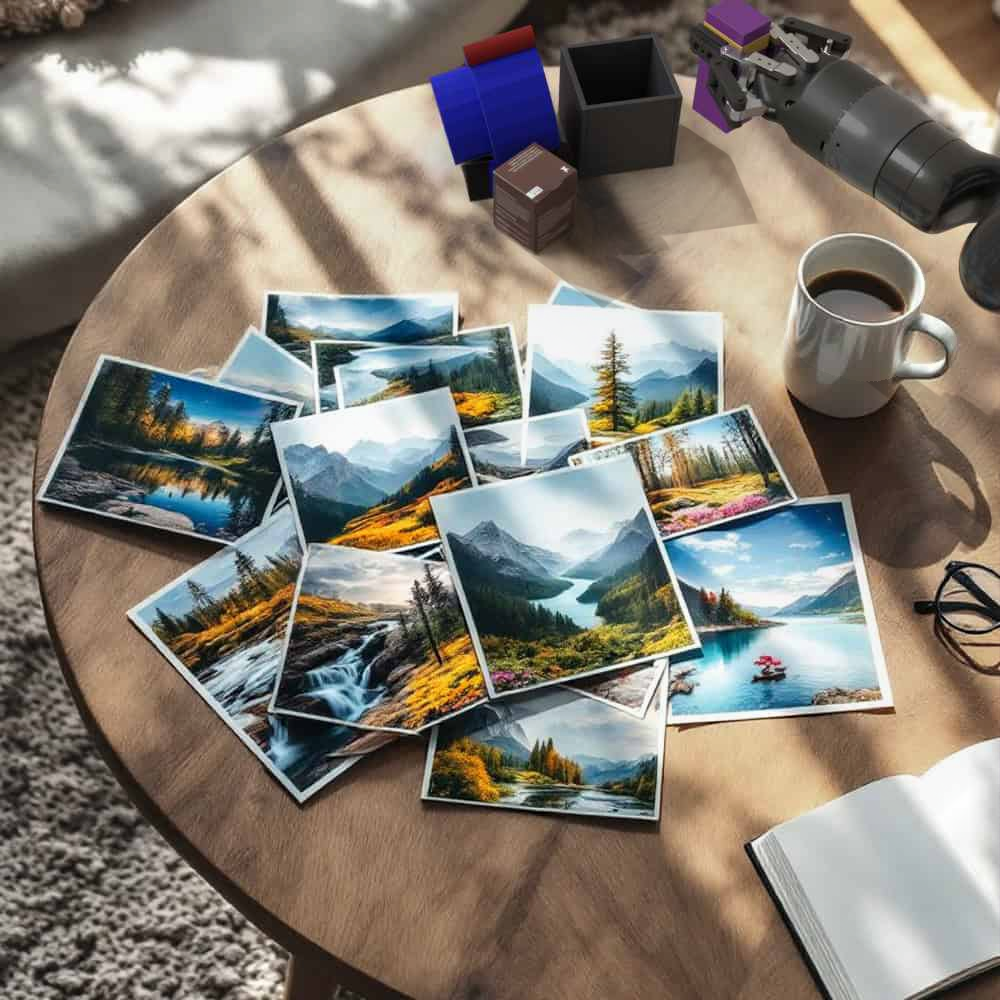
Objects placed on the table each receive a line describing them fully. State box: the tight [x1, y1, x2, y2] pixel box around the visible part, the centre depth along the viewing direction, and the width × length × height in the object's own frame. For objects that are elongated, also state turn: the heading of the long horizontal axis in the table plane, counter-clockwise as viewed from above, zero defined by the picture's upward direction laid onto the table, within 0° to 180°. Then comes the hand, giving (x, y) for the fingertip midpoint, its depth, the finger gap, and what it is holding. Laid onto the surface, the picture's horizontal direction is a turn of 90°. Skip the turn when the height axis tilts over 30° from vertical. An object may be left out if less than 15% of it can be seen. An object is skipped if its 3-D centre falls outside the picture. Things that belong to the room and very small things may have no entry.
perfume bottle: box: [691, 0, 773, 135], centre depth 106 cm, size 3×4×10 cm
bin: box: [557, 33, 684, 179], centre depth 129 cm, size 10×10×9 cm
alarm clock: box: [429, 24, 561, 202], centre depth 125 cm, size 12×12×15 cm
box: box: [492, 142, 578, 255], centre depth 123 cm, size 6×6×7 cm
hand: (710, 25), depth 105 cm, fingers closed on perfume bottle, 3 cm apart
